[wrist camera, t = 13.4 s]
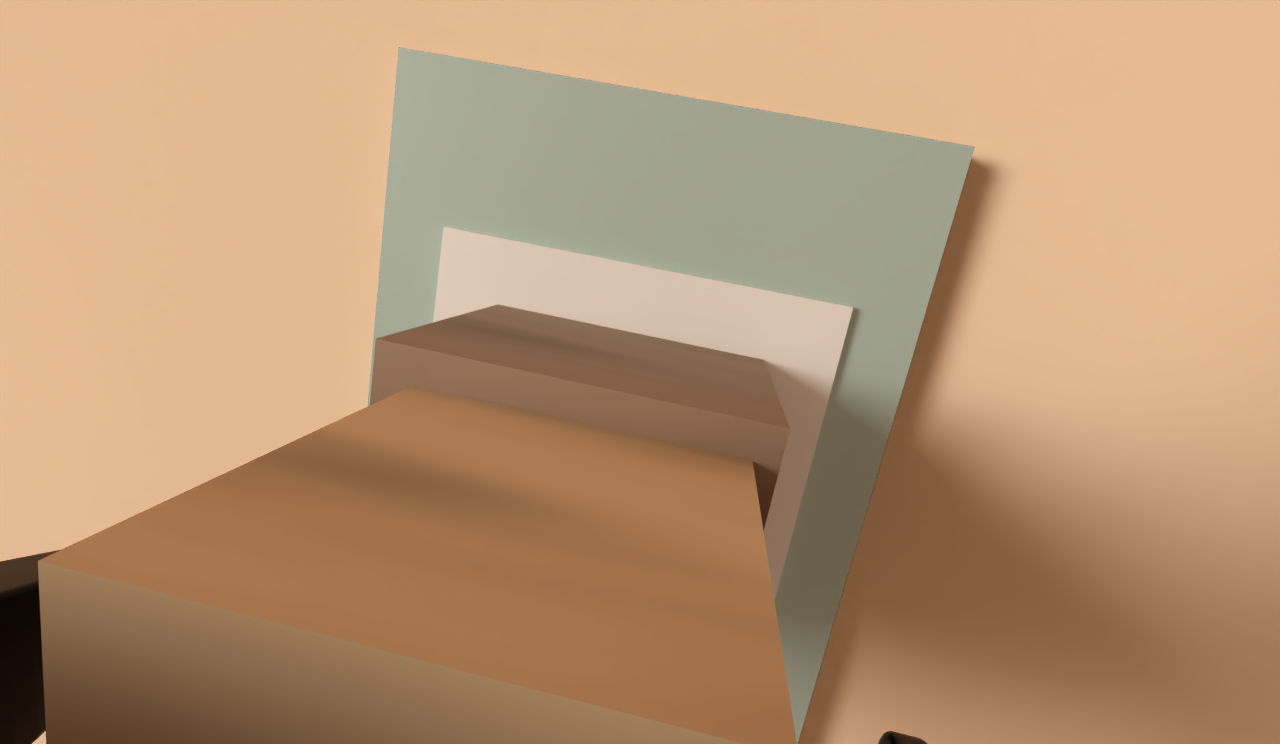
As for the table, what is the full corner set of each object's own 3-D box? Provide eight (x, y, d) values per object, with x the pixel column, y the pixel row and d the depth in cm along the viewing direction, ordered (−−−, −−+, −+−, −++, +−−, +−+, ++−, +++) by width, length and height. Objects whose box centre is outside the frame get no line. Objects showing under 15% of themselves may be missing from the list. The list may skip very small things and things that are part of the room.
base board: (779, 770, 16) (782, 803, 15) (360, 661, 17) (339, 685, 16) (958, 152, 13) (978, 145, 12) (417, 58, 14) (393, 43, 13)
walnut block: (705, 601, 14) (698, 782, 10) (465, 543, 15) (344, 687, 10) (763, 359, 13) (790, 428, 8) (497, 304, 14) (376, 337, 9)
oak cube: (680, 754, 10) (641, 1282, 5) (382, 675, 10) (63, 1087, 5) (752, 461, 8) (798, 758, 4) (412, 385, 9) (37, 560, 4)
